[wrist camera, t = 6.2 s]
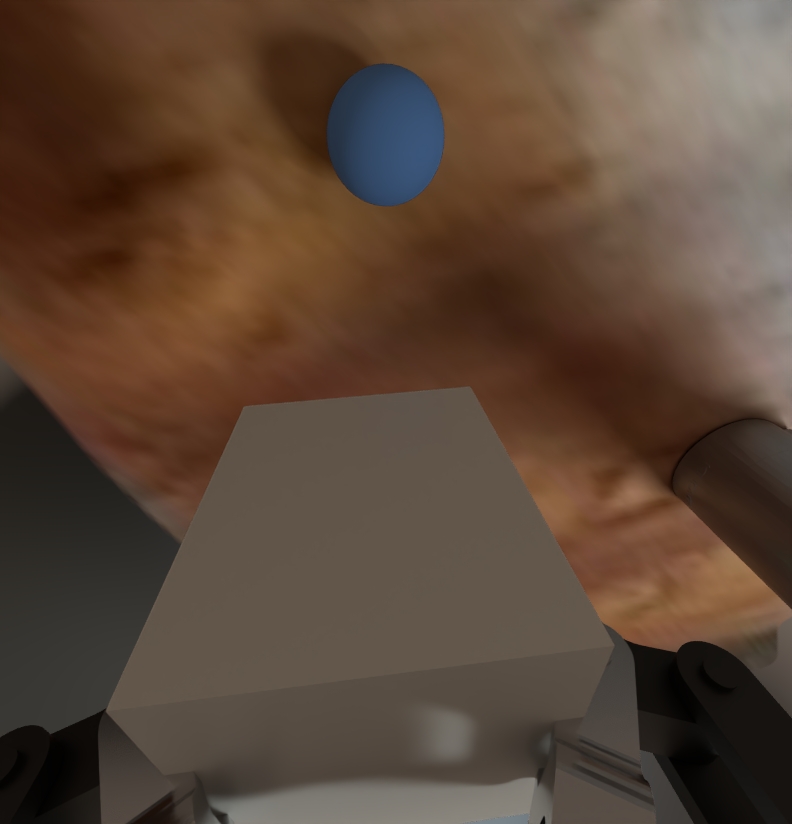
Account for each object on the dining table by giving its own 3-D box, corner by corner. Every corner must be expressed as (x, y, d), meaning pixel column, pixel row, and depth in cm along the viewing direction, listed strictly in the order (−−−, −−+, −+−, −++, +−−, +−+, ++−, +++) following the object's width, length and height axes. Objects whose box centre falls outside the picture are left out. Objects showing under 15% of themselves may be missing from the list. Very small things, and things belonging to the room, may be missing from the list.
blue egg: (431, 74, 18) (460, 47, 14) (431, 198, 21) (455, 207, 17) (320, 78, 18) (315, 52, 14) (335, 204, 20) (334, 215, 16)
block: (470, 386, 12) (614, 644, 5) (461, 539, 15) (543, 811, 9) (244, 406, 11) (105, 711, 5) (287, 558, 15) (238, 857, 8)
